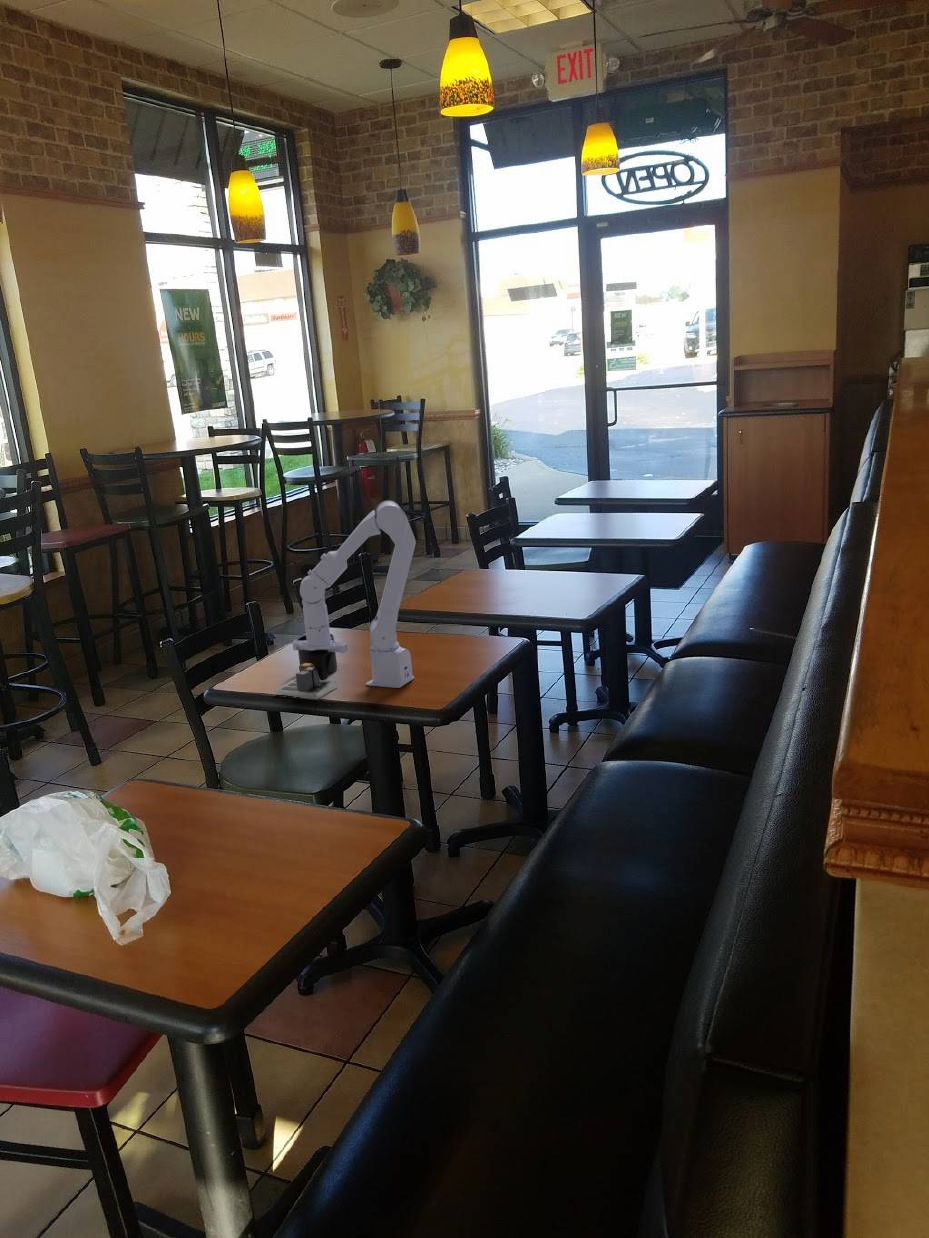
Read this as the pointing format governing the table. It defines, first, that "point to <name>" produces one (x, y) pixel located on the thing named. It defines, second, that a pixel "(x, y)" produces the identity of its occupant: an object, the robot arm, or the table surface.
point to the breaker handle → (305, 666)
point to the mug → (304, 659)
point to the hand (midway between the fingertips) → (323, 679)
